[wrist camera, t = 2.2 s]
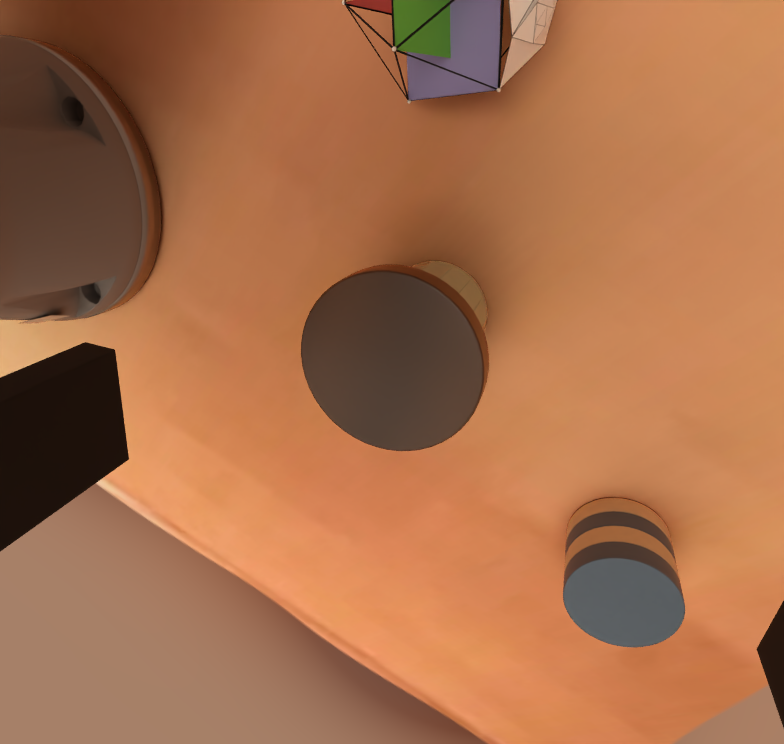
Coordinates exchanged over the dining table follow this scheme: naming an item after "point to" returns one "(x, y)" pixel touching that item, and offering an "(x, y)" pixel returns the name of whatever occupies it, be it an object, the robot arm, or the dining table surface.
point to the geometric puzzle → (460, 41)
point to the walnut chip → (395, 357)
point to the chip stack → (622, 574)
